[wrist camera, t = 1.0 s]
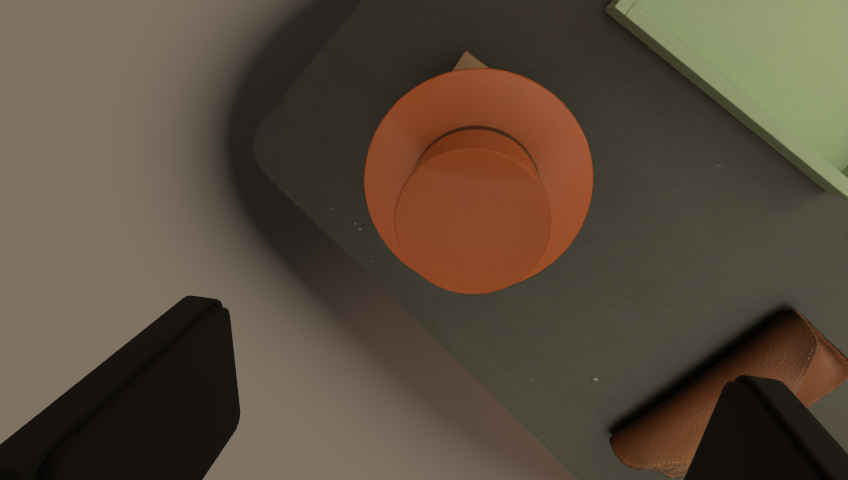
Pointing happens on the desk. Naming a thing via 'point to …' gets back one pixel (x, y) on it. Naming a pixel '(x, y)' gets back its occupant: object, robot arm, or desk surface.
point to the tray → (762, 69)
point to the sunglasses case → (694, 403)
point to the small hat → (478, 179)
